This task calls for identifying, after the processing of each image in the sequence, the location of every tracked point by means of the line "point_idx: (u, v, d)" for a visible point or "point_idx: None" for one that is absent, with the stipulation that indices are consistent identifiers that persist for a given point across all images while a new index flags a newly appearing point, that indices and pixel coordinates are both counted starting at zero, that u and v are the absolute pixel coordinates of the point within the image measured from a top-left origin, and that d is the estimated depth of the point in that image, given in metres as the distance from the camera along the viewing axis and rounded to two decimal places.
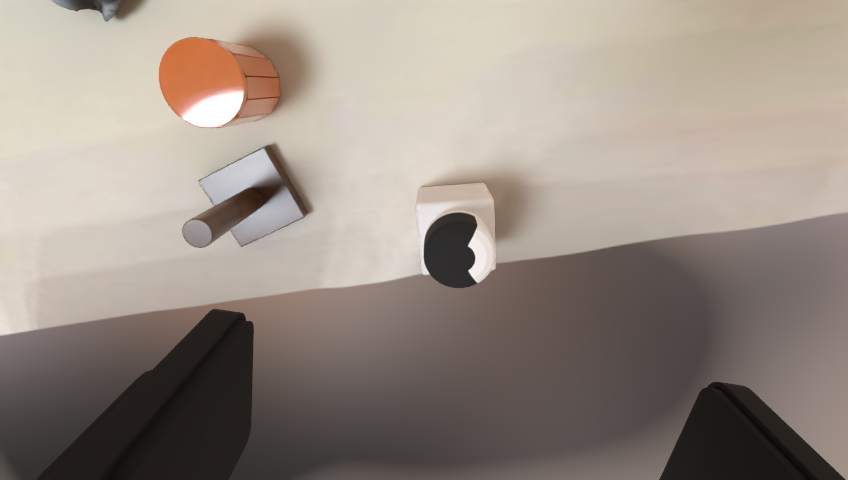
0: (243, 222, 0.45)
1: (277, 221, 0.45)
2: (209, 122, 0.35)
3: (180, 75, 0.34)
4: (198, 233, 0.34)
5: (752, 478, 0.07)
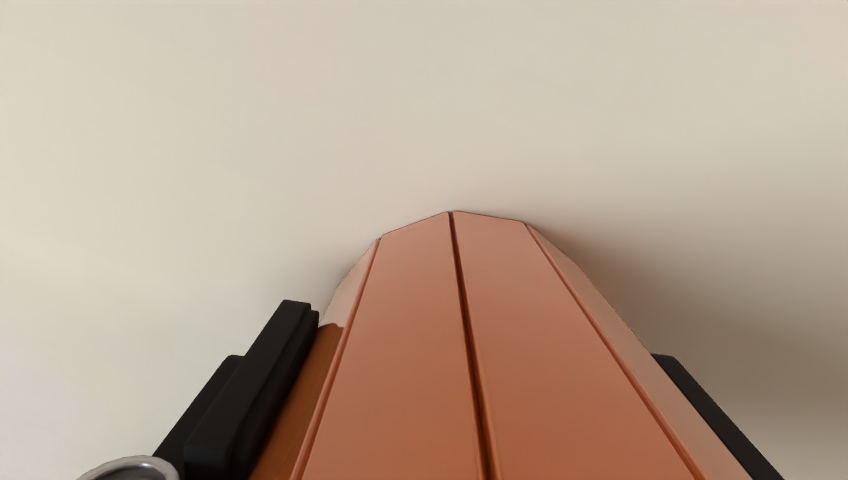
0: None
1: None
2: None
3: None
4: None
5: None
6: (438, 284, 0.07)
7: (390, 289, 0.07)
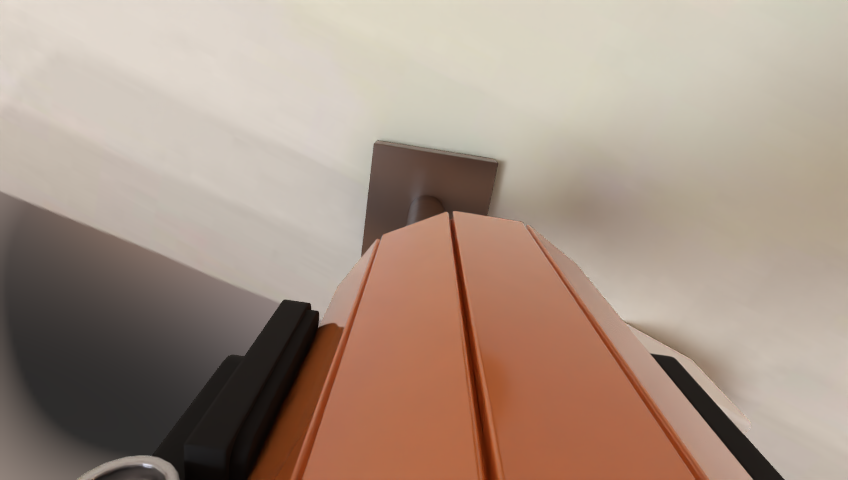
0: None
1: None
2: None
3: None
4: None
5: None
6: (438, 284, 0.07)
7: (390, 289, 0.07)
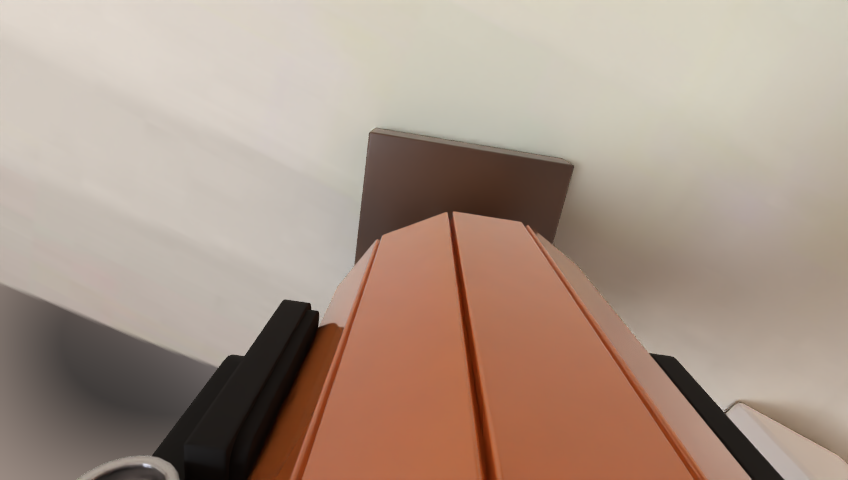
0: None
1: None
2: None
3: None
4: None
5: None
6: (438, 285, 0.07)
7: (390, 290, 0.07)
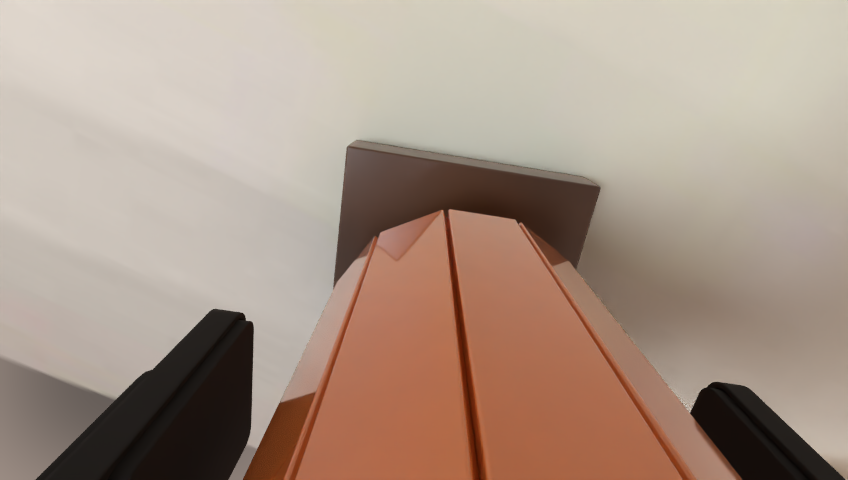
0: None
1: None
2: None
3: None
4: None
5: (752, 478, 0.07)
6: (432, 278, 0.07)
7: (387, 283, 0.07)
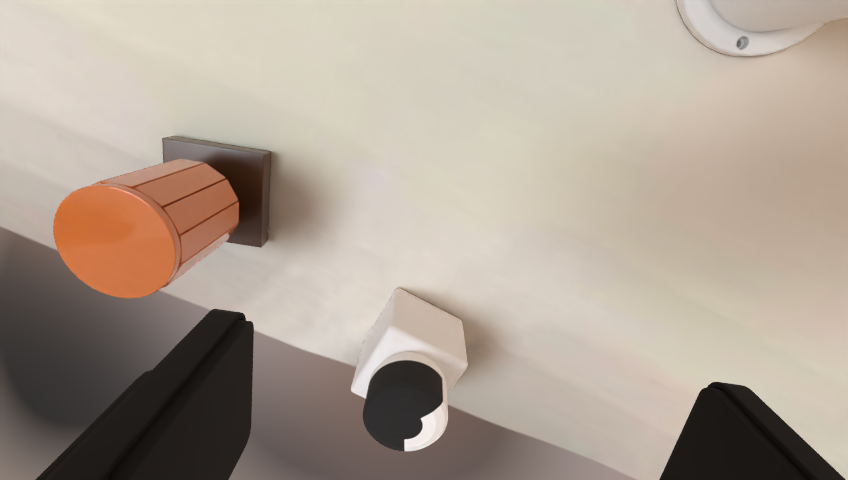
0: None
1: None
2: (98, 284, 0.25)
3: (91, 220, 0.24)
4: None
5: (752, 478, 0.07)
6: (142, 169, 0.27)
7: None
